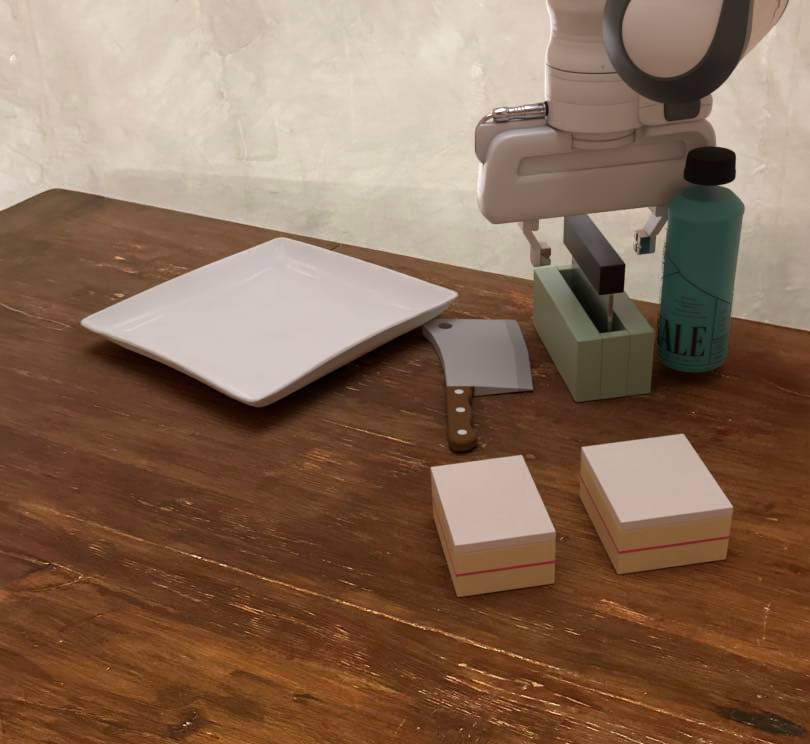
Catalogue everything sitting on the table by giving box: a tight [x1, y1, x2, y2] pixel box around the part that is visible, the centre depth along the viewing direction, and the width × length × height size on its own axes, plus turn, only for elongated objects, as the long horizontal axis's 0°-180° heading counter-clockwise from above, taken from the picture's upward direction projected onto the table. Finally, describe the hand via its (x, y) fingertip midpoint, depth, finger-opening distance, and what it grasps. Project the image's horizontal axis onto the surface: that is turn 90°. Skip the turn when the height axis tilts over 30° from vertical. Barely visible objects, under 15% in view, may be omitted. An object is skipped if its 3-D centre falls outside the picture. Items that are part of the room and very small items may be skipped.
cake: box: [578, 433, 734, 575], centre depth 83 cm, size 8×10×5 cm
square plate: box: [80, 236, 459, 408], centre depth 112 cm, size 27×27×4 cm
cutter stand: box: [532, 263, 656, 403], centre depth 104 cm, size 7×16×6 cm, turn 8°
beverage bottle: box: [654, 146, 746, 373], centre depth 96 cm, size 6×7×20 cm
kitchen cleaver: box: [421, 318, 534, 452], centre depth 103 cm, size 24×1×10 cm
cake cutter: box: [562, 214, 627, 334], centre depth 102 cm, size 2×12×12 cm, turn 8°
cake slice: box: [430, 454, 557, 598], centre depth 82 cm, size 7×10×5 cm
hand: (592, 258), depth 100 cm, fingers open, 8 cm apart
